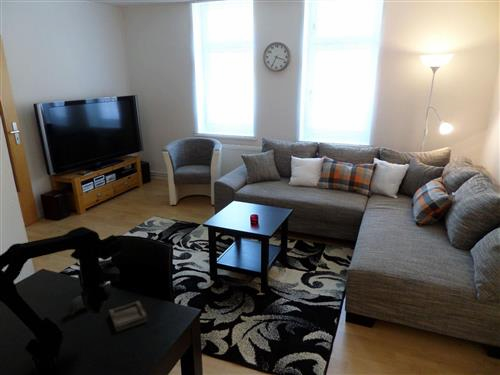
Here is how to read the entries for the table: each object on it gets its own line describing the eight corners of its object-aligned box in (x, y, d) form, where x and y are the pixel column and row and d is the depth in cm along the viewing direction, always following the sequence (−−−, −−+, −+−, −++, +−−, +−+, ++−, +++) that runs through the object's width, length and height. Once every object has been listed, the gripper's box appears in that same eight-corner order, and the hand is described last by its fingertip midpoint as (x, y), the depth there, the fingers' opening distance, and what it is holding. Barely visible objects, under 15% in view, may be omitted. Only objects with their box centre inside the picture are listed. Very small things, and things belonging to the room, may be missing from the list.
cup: (112, 309, 114) (110, 288, 112) (93, 322, 108) (90, 300, 106) (98, 302, 118) (95, 282, 116) (79, 314, 112) (75, 293, 109)
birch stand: (147, 320, 124) (147, 316, 124) (116, 332, 118) (115, 327, 118) (139, 304, 133) (138, 300, 132) (109, 314, 127) (109, 310, 127)
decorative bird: (66, 313, 128) (64, 296, 125) (104, 292, 141) (102, 277, 138) (75, 319, 125) (72, 301, 123) (112, 297, 138) (110, 281, 136)
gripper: (123, 271, 105) (127, 314, 109) (109, 247, 120) (114, 286, 124) (84, 282, 99) (90, 326, 104) (74, 256, 114) (80, 295, 118)
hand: (95, 307), depth 113 cm, fingers closed on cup, 6 cm apart
